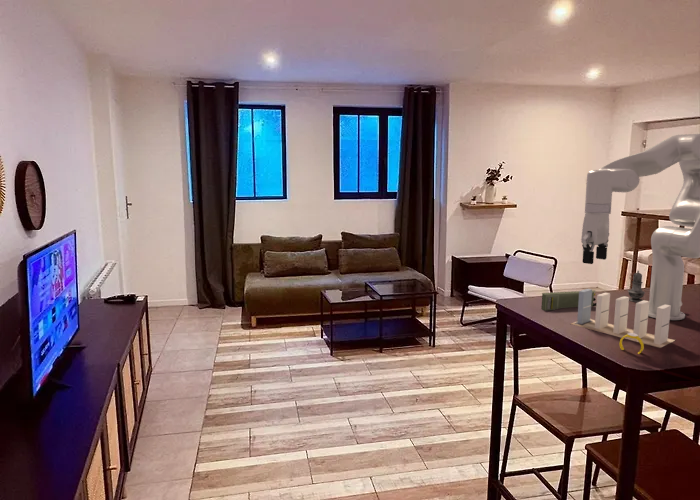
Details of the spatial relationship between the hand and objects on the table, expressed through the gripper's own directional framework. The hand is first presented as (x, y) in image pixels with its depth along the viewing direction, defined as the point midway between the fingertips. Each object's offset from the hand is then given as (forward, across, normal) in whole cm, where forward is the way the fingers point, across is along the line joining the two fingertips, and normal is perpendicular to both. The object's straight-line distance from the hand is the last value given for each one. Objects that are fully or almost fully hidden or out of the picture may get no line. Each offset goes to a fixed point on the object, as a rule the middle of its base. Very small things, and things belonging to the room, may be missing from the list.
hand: (594, 261), depth 163 cm
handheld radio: (+23, -16, -13) cm, 31 cm away
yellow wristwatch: (+22, +16, +18) cm, 33 cm away
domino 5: (+21, +2, +22) cm, 30 cm away
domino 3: (+21, +1, +10) cm, 24 cm away
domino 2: (+21, 0, +4) cm, 22 cm away
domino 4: (+21, +2, +16) cm, 27 cm away
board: (+22, +1, +10) cm, 24 cm away
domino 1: (+21, 0, -2) cm, 21 cm away
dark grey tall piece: (+23, -43, -2) cm, 49 cm away
